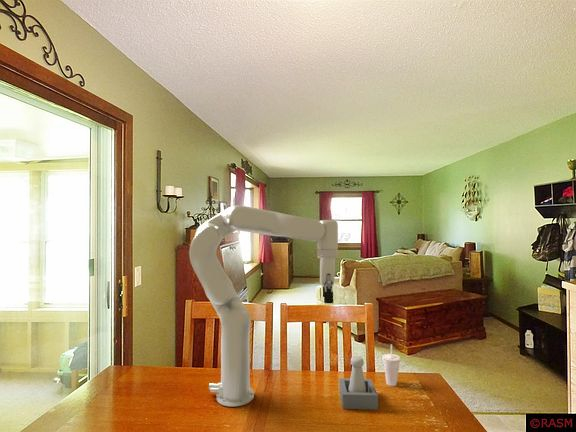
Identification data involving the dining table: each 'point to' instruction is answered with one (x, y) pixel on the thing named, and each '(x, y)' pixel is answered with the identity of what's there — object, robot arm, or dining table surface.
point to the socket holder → (358, 396)
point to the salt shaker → (357, 376)
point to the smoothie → (391, 368)
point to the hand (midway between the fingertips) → (327, 299)
